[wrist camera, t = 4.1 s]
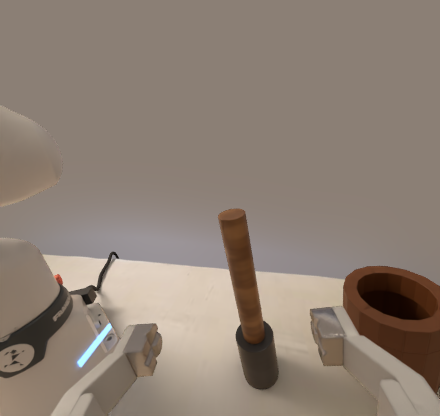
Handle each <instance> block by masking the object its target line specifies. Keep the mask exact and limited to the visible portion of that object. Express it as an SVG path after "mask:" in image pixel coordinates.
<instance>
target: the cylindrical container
mask: <svg viewBox="0 0 440 416" xmlns="http://www.w3.org/2000/svg"><path fill="white" fill-rule="evenodd" d="M343 307H344V309H345V311H346V312H347V314H348V316H349V318H350V319H351V321H352V323H353V324H354V326H355V328H356V330H357V331H358V333H359V335H360V336H365V337H366V338H368V339H369V340H371V341H372V342H373V343H375V344H376V345H378V346H379V347H381V348H382V349H384V350H385V351H386V352H388V353H389V354H391V355H392V356H394V357H395V358H397V359H398V360H399V361H401V362H402V363H404V364H405V365H407V366H408V367H410V368H411V369H412V370H414V371H415V372H417V373H418V374H420V375H421V376H422V377H423V378H424V379H425V380H426V382H427V383H428V384H429V386H430V387H431V389H432V390H433V391H434V393H435V394H436V393H437V391H438V389H439V386H440V286H438V285H437V284H435V283H434V282H432V281H430V280H429V279H427V278H425V277H423V276H420V275H418V274H415V273H412V272H410V271H407V270H403V269H399V268H393V267H388V266H368V267H364V268H360V269H356V270H354V271H353V272H352V273H350V274H349V275H348V276H347V277H346V279H345V282H344V286H343Z"/></svg>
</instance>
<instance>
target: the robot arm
mask: <svg viewBox="0 0 440 416" xmlns="http://www.w3.org/2000/svg"><path fill="white" fill-rule="evenodd" d="M62 168H63V161H62V155H61V152H60V149H59V147H58V145H57V143H56V142H55V140H54V139H53V137H52V136H51V135H50V134H49V133H48V132H47V131H46V130H45V129H44V128H43V127H41V126H40V125H39V124H37V123H36V122H34V121H32V120H31V119H29V118H27V117H25V116H23V115H20V114H18V113H15V112H13V111H11V110H9V109H7V108H5V107H3V106H1V105H0V207H3V206H6V205H9V204H13V203H17V202H20V201H23V200H25V199H27V198H29V197H32V196H34V195H36V194H38V193H40V192H42V191H44V190H46V189H48V188H50V187H52V186H54V185H56V184H57V183H58V181H59V179H60V176H61V174H62ZM113 254H114V255H115V257H116V259H119V257H118V255H117V254H116V253H115V252H111V253H110V255H109V258H108V261H107V263H106V264H105V266H104V268H103V269H102V271H101V273H100V275H99V278H98V284H97V287H95V286H93V285H91V286H88V287H86V288H84V289H79V290H75V291H71V292H68V290H67V289H66V288H65V287H63V285H62V284H63V281H62V279H61V277H60V275H59V274H57V275H55V276H54V275H53V274H52V272H51V270H50V268H49V266H48V265H47V263H46V261H45V259H44V258H43V256H42V254H41V253H40V250H39V249H38V248H37V247H36V246H35V245H33V244H31V243H29V242H27V241H24V240H21V239H13V238H0V416H107V415H108V414H109V413H110V412H111V410H112V409H113V408H114V407H115V405H116V404H117V403H118V402H119V400H120V399H121V398H122V397H123V395H124V394H125V393H126V392H127V390H128V389H129V388H130V387H131V385H132V384H133V383H134V382H135V380H136V379H137V377H144V376H153V373H154V370H155V367H156V364H157V360H156V357H157V356H158V355H159V354H160V352H161V349H162V337H161V334H160V333H158V332H157V330H158V327H157V325H156V324H137V325H129V326H128V327H127V328H126V329H125V331H124V333H123V335H122V337H121V339H120V340H119V338H118V336H117V334H116V332H115V331H114V329H113V327H112V325H111V323H110V321H109V320H108V318H107V316H106V314H105V312H104V311H103V309H102V307H101V306H100V304H99V303H93V302H94V300H95V298H96V297H97V296H96V294H95V292H94V291H98V290H99V289H100V286H101V280H102V276H103V274H104V272H105V270H106V268H107V267H108V265H109V263H110V261H111V258H112V255H113ZM310 316H311V319H312V321H311V329H312V334H313V337H314V340H315V343H316V344H317V345H318V351H319V355H320V357H321V360H322V363H323V366H343V367H344V368H345V369H346V370H347V371H348V372H349V373H350V374H351V375H352V376H353V377H354V378H355V379H356V380H357V381H358V382H359V383H360V384H361V385H362V386H363V387H364V388H365V389H366V390H367V391H368V392H369V393H370V394H371V395H372V396H373V397H374V398H375V399H376V400H377V401H378V408H377V416H440V400H439V398H438V397H437V395H436V394H435V393H434V391H433V390H432V389H431V387H430V386H429V384H428V383H427V382H426V380H425V379H424V378H423V377H422V376H421V375H420V374H418V373H417V372H415V371H414V370H412V369H411V368H410V367H408V366H407V365H405V364H404V363H402V362H401V361H399V360H398V359H397V358H395V357H394V356H392V355H391V354H389V353H388V352H386V351H385V350H384V349H382V348H381V347H379V346H378V345H376V344H375V343H373V342H372V341H371V340H369V339H368V338H366V337H365V336H360V335H359V333H358V331H357V330H356V328H355V326H354V324H353V323H352V321H351V319H350V318H349V316H348V314H347V312H346V311H345V309H344V307H342V306H337V307H326V308H317V309H310Z"/></svg>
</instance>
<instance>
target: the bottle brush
mask: <svg viewBox="0 0 440 416" xmlns="http://www.w3.org/2000/svg"><path fill="white" fill-rule="evenodd" d="M218 219H219V224H220V229H221V233H222V238H223V243H224V248H225V252H226V256H227V262H228V266H229V271H230V276H231V280H232V285H233V290H234V294H235V299H236V304H237V309H238V313H239V318H240V323H241V325H240V326H239V327H238V329H237V331H236V341H237V346H238V350H239V354H240V359H241V363H242V367H243V372H244V376H245V378H246V380H247V382H248V383H249V384H250V385H251V386H253V387H255V388H257V389H267V388H269V387H271V386H272V385H273V384H274V383H275V382H276V380H277V378H278V373H279V371H278V363H277V357H276V350H275V343H274V336H273V331H272V329H271V327H270V326H269V325H268V324H267V323H266V322H265V321H263V318H262V312H261V305H260V299H259V293H258V287H257V281H256V275H255V269H254V263H253V257H252V250H251V244H250V238H249V232H248V226H247V220H246V214H245V211H244V210H242V209H229V210H226V211H223V212H222V213H220V214H219V215H218Z"/></svg>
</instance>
